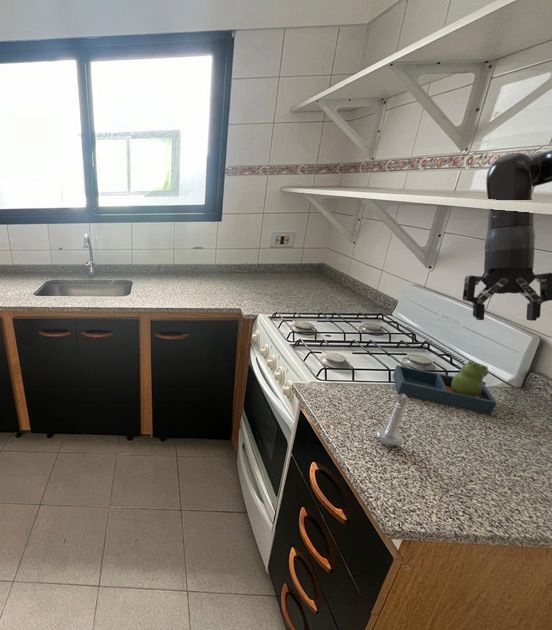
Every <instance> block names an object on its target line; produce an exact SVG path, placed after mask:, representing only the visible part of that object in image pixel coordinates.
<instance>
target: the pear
mask: <svg viewBox="0 0 552 630" xmlns="http://www.w3.org/2000/svg"><path fill="white" fill-rule="evenodd" d="M488 370H489V367H488V366H486V365H485V364H481V363H479V362H477V361H474V360H469V361H468V362H467V363H465V364H464V365H462V366H461V368H460V370H459V372H457V373H456V374H455V375H453V376H454V377H453V379H452V383H451V388H452V391H453V392H455V393H459V394H464V395H468V396H473V397H476V396H477V395H478V394H479V393H480V392H481V389H482V382H483V380H484V378H485V377H486V376H488V374H489V371H488Z"/></svg>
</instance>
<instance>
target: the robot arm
mask: <svg viewBox="0 0 552 630" xmlns="http://www.w3.org/2000/svg"><path fill="white" fill-rule="evenodd" d="M485 181H486V183H485V184H486V185H485V186H486V197H487V200H488V199H494V200H495V199H496V200H533V201H534V199H533V196H532V195H533V188H534V187H537V186H542V185H546V184H548V183H552V149H551V150H547V151H543V152H539V153H536V154H532V155H528V154H526V153H522V152H512V153H508V154H505V155H503V156H500V157H499V158H498V159H496V160H495V161H494V162H493V163H492V164H491V165H490V167H488V170H487V173H486V180H485ZM535 219H536V212H535V213H529V212H518V211H505V210H493V209H489V208H488V216H487V230H486V231H487V232H486V237H485V243H484V263H483V264H484V265H483V274H482V275H466V276H465V277H464V285H463V292H462V300H463V301H465V302H469V303H472V317H473V318H475V319H476V320H477V321H484V320H485V310H486V309H485V308H486V307H485V306H486V305H485V304H484V303H485V302H486V301H487V300H488V299H489V298H491V297H493V295H496V294H497V295H498V294H500V295H502V294H503V295H505V294H520V295H521V296H523V297H524V298H525V299H526V300H527V301H528V302H529V303H527V304H526V317H525V319H526V320H527V321H532V322H533V321H535V322H536V321H537V319H539V318H540V317H541V310H542V304H543V303H546V302H548V301H549V302H550V301H552V272H542V273H534V266H535V265H534V264H535V250H536V249H535V246H536V232H535ZM534 281H536V283H538V284H539V294H538V293H537V291H536V290H535V289H534V288H533V287H532V286H531V284H532V283H533V282H534ZM480 282H482V284H484V285H485V286H484V287H483V288H482V289H481V290H480V291H479V293H478V294H477V295H476V296H475V291H476V286H478V285H479V284H480Z"/></svg>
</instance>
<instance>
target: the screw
mask: <svg viewBox="0 0 552 630" xmlns="http://www.w3.org/2000/svg"><path fill="white" fill-rule="evenodd" d="M407 400H408V396H406V395H405V394H399V396H398V398H397V401H395V403H394V404H393V408H392V410H391V413H390V415H389V416H390V417H388V418H389V419H388V421H387V423H386V426H385V427H383V426H381V427H377V428H376V429H375V431H374V432H375V435H376V437H377V438H378V439H379V442H380V444H381V445H383V446H385V447H387V448H390V447H395V446H396V445H398V446H399V445H402V443H403V441H404V439H403V437H402V436H401V434H400V433H399V432H398V428H399V426H400V424H401V420H402V417H403V415H404V413H405V410H406V403H407Z"/></svg>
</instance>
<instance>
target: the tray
mask: <svg viewBox="0 0 552 630" xmlns="http://www.w3.org/2000/svg"><path fill="white" fill-rule="evenodd" d="M409 374H410V378H411V380H409ZM454 376H455V375H448V374H443V373H438V372H433V371H428V370H423V369H418V368H413V367H410V366H409V367H408V366H403V365H399V364H396V365H395V367H394V371H393V374H392V378H393V381H394V385H395V384H396V385H395V389H396V388H397V389H396V392H397V395H400V394H405V395H406V396H407V397H410V398H414V399H419V400H423V401H428V402H431V403H437V404H441V405H445V406H449V407H454V408H458V409H463V410H467V411H471V412H474V413H475V412H476V413H480V414H484V415H488V416H491V415H492V413H493V411H494V409H495V407H496V406H497V404H498V403H497V401H496V399H495V397H493V395H492V394H491V392H490V391H489V389H488V388H487V386H486V385H485V384H484V382H483V381H482V389H481V392H480V393H479V394H478V395H477V396H476V397H473V396H468V395H464V394H459V393H455V392H453V391H452V388H451V383H452V379H453V377H454Z"/></svg>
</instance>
